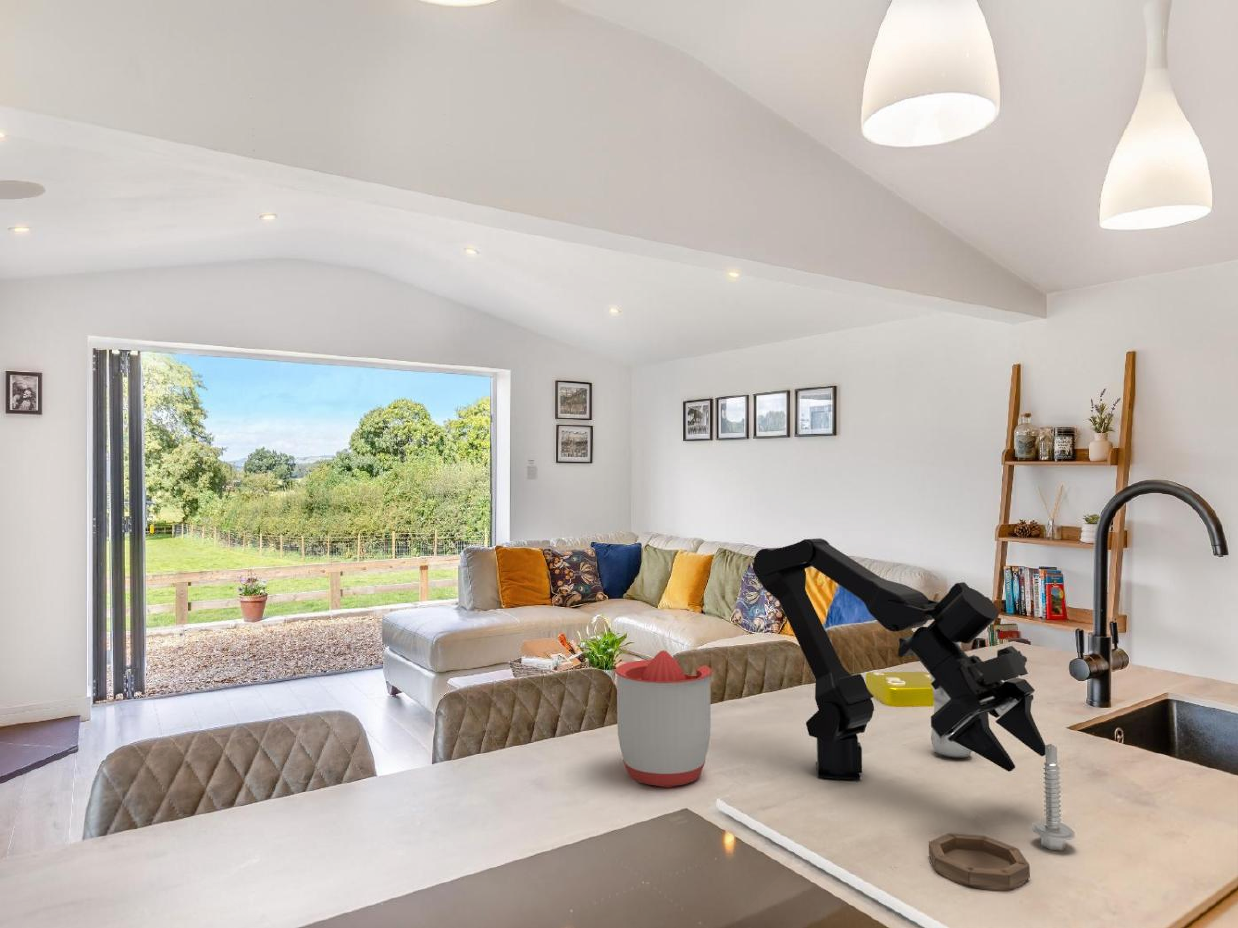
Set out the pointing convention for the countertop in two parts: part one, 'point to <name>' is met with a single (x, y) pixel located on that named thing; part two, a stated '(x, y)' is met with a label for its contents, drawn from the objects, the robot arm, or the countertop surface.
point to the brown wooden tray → (979, 862)
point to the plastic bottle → (944, 744)
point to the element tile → (901, 688)
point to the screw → (1052, 807)
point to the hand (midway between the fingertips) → (1029, 761)
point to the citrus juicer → (663, 720)
